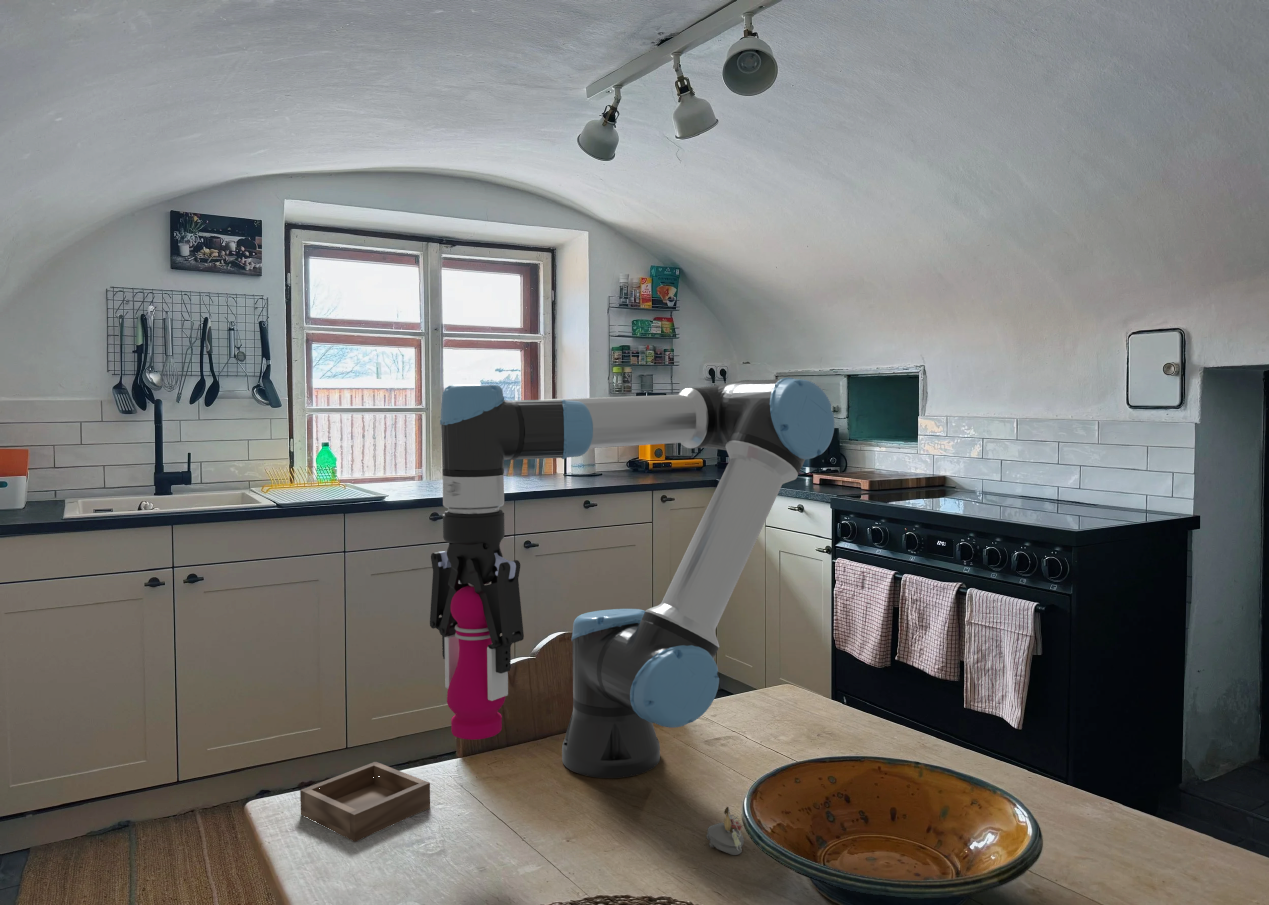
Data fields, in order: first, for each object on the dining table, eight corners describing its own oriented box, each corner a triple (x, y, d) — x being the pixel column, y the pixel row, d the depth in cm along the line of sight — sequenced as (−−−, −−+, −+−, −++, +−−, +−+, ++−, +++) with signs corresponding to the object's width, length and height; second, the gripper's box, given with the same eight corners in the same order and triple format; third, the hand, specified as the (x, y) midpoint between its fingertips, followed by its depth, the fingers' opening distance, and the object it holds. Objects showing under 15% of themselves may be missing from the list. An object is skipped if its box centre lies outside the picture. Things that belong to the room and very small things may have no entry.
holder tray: (430, 807, 123) (429, 782, 123) (355, 841, 113) (354, 814, 113) (375, 785, 130) (375, 761, 130) (300, 815, 121) (300, 789, 120)
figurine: (698, 842, 113) (704, 798, 112) (724, 833, 115) (730, 790, 114) (725, 866, 108) (732, 820, 107) (752, 856, 111) (759, 812, 110)
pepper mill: (494, 743, 109) (492, 579, 108) (438, 739, 110) (435, 577, 109) (513, 722, 116) (511, 568, 115) (460, 719, 118) (458, 567, 116)
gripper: (397, 506, 115) (401, 684, 116) (509, 518, 103) (511, 716, 104) (443, 501, 121) (445, 670, 122) (553, 511, 109) (555, 698, 110)
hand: (476, 691), depth 113 cm, fingers closed on pepper mill, 7 cm apart
